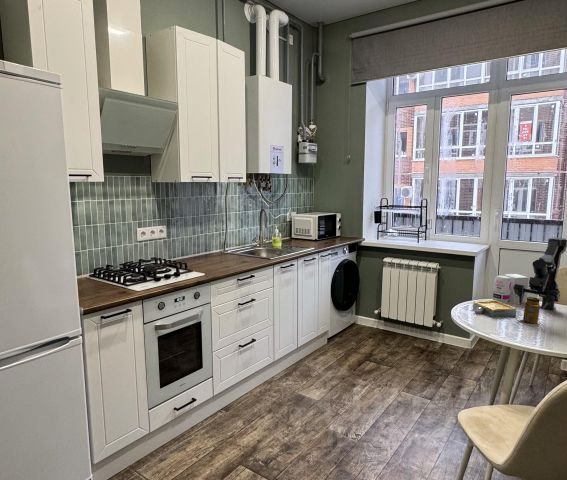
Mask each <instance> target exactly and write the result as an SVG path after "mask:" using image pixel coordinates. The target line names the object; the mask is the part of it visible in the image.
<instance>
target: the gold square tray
mask: <svg viewBox="0 0 567 480" xmlns="http://www.w3.org/2000/svg"><path fill="white" fill-rule="evenodd" d="M472 309H473V312H474V313H475V314H484V315H486V316H489V317H492V318H502V317H516V316H517V307H514V306H511V305H509V304H504V303H501V302H499V301H496V300H493V299H492V300H477V301H476V300H475V301H473V303H472Z"/></svg>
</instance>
